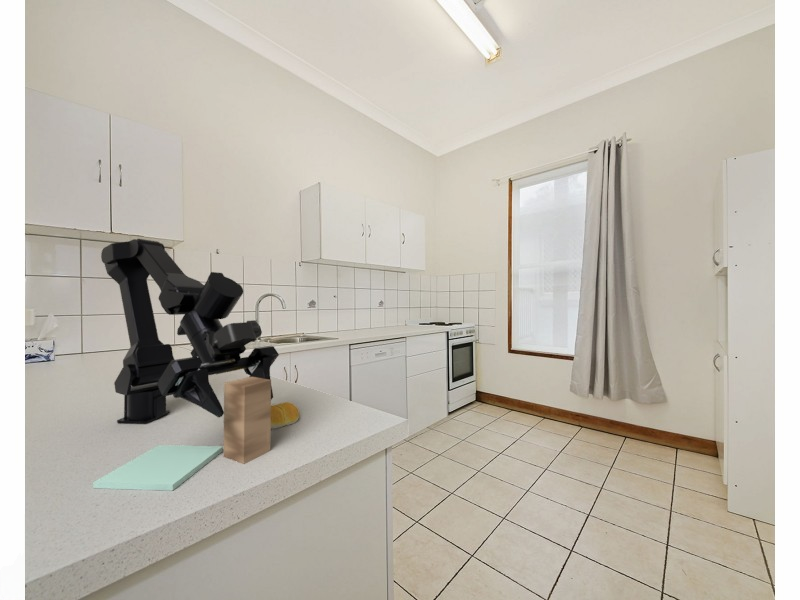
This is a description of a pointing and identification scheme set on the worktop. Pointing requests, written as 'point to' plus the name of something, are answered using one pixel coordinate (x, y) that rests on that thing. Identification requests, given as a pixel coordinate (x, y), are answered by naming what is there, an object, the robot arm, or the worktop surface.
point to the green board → (159, 468)
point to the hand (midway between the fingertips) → (248, 406)
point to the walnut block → (247, 418)
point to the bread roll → (283, 414)
